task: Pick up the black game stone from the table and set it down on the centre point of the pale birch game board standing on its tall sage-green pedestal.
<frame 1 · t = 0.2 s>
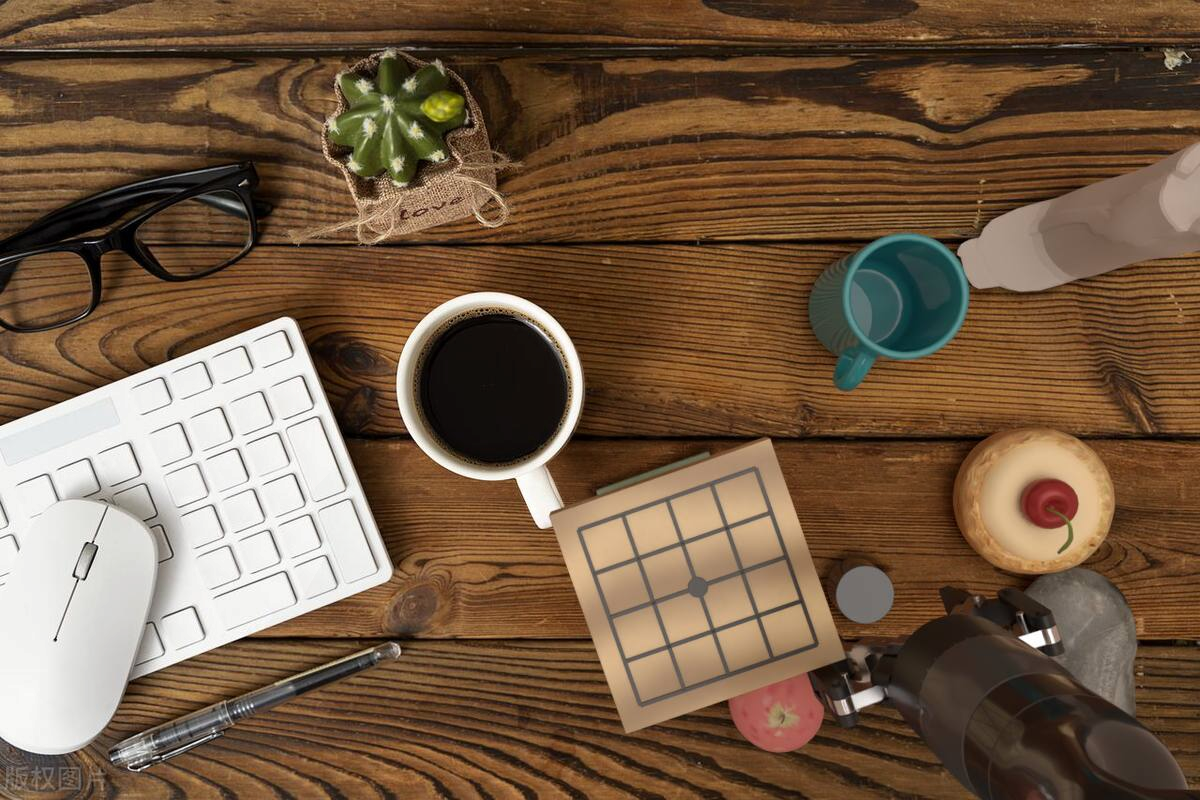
hand: (889, 620, 59), 13 cm above the table, tool pointing down, fingers open, 8 cm apart
beige tapered piece: (1039, 246, 72), on the table
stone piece: (854, 585, 73), on the table
board: (671, 525, 73), on the table
apple: (766, 683, 73), on the table
stone: (1060, 649, 73), on the table
pastry: (1010, 494, 73), on the table
cup: (851, 324, 72), on the table
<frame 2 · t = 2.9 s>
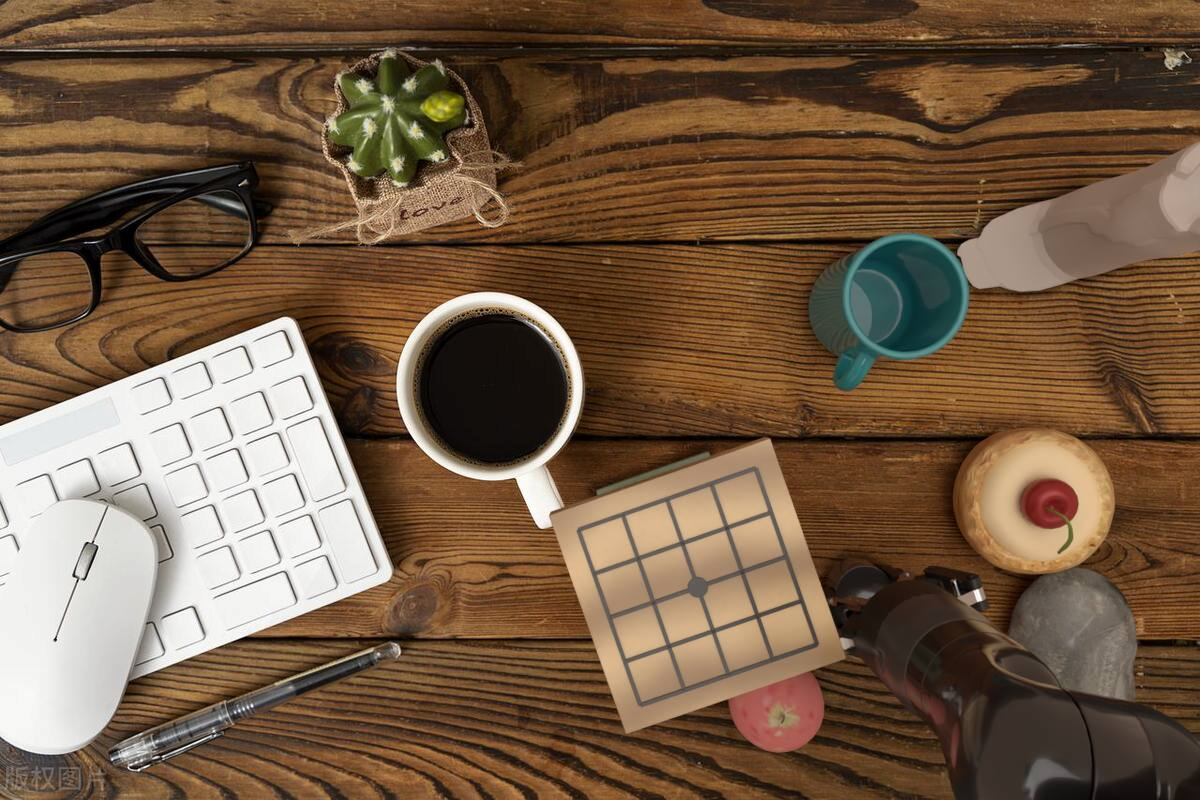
hand: (857, 588, 72), 1 cm above the table, tool pointing down, fingers closed on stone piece, 4 cm apart
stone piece: (854, 585, 73), on the table, touching gripper
everything else where it was.
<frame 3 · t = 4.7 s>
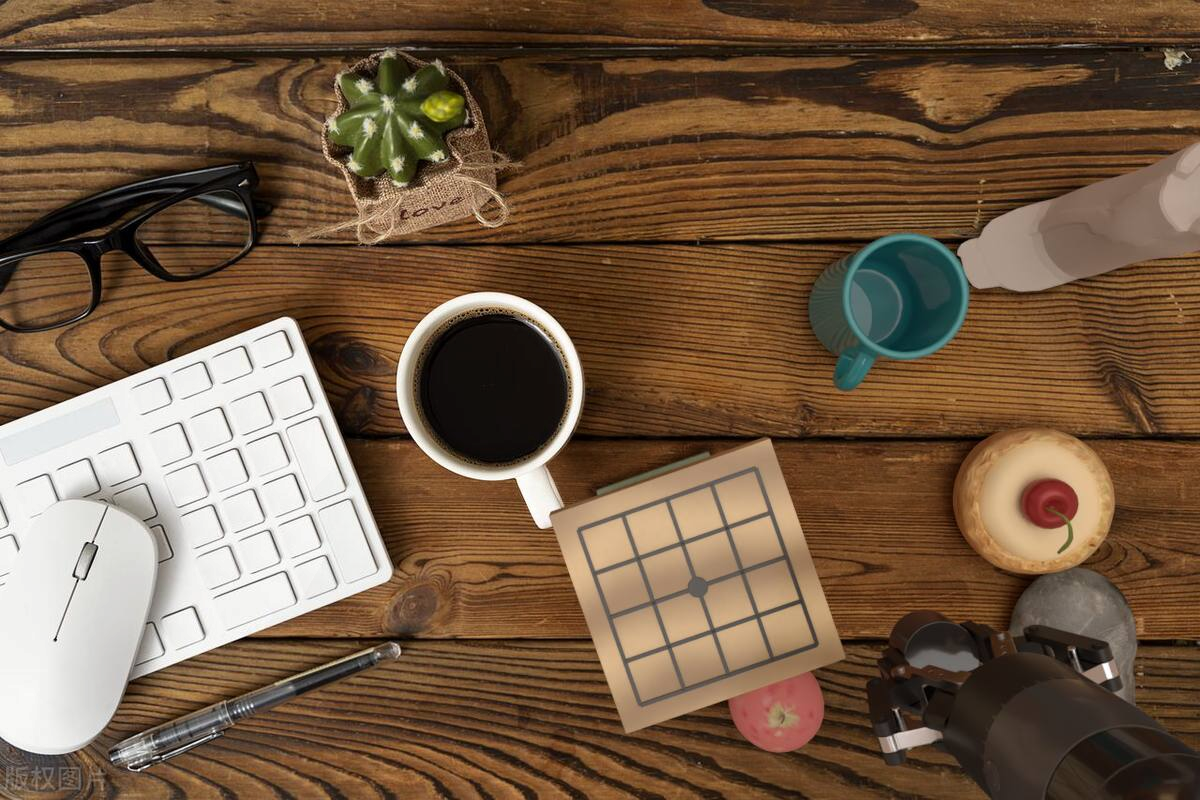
hand: (930, 649, 56), 17 cm above the table, tool pointing down, fingers closed on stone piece, 4 cm apart
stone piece: (924, 645, 57), point 16 cm above the table, touching gripper
everything else where it was.
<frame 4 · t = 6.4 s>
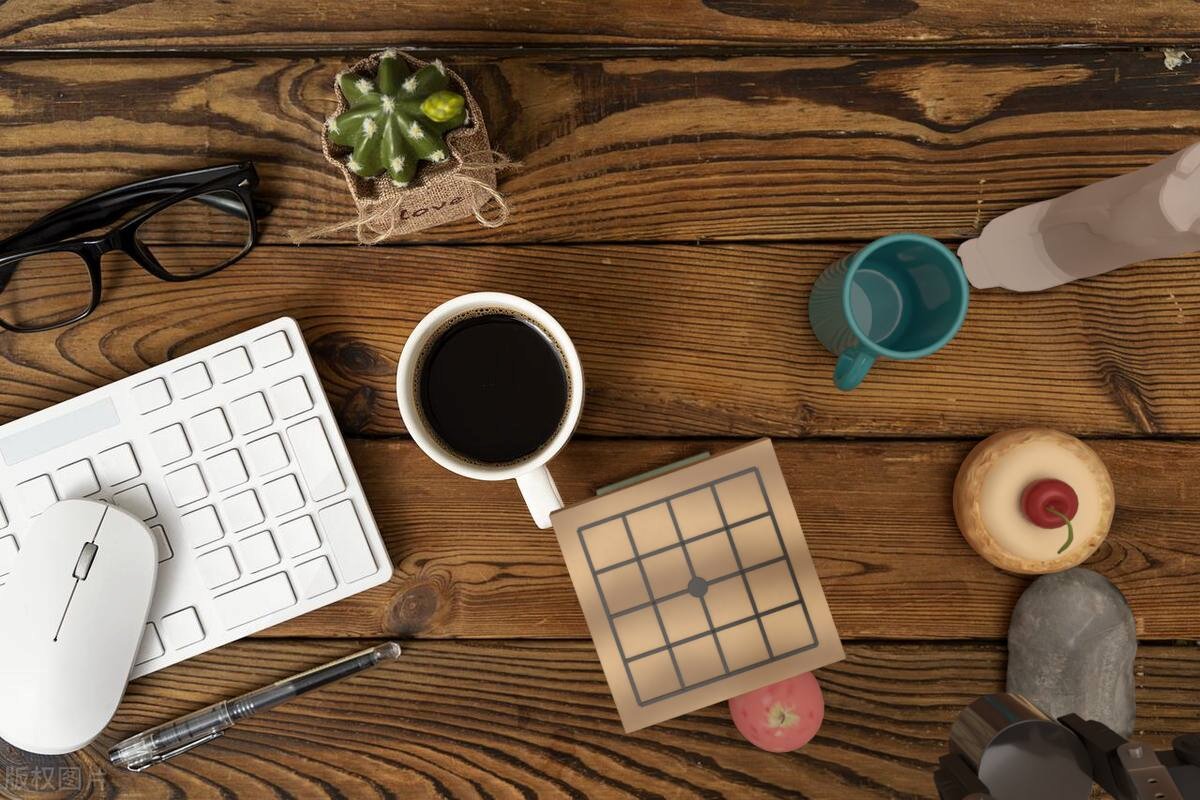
hand: (1011, 755, 37), 35 cm above the table, tool pointing down, fingers closed on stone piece, 4 cm apart
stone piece: (1001, 745, 38), point 35 cm above the table, touching gripper
everything else where it was.
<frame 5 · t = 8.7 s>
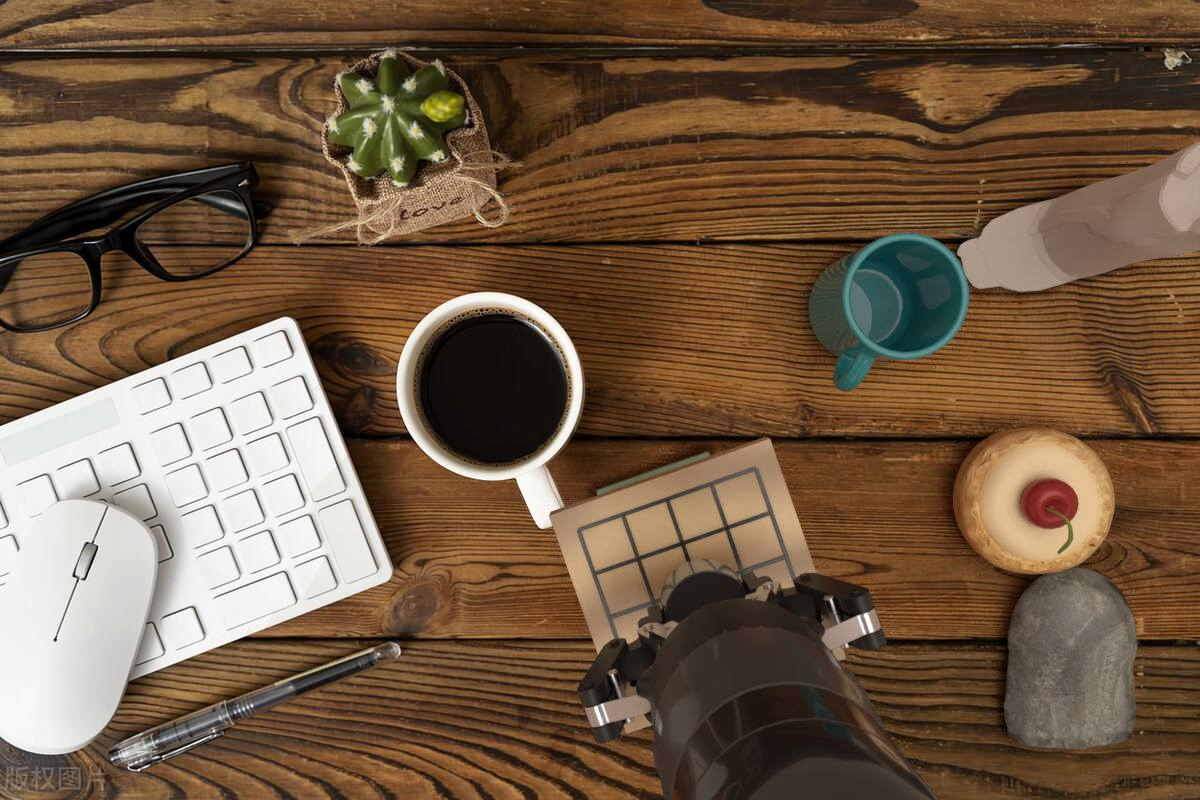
hand: (706, 606, 47), 26 cm above the table, tool pointing down, fingers closed on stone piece, 4 cm apart
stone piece: (703, 601, 48), point 25 cm above the table, touching gripper
everything else where it was.
when the fingers open (23 cm above the table, at t = 10.1 s): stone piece stays where it is, resting on board.
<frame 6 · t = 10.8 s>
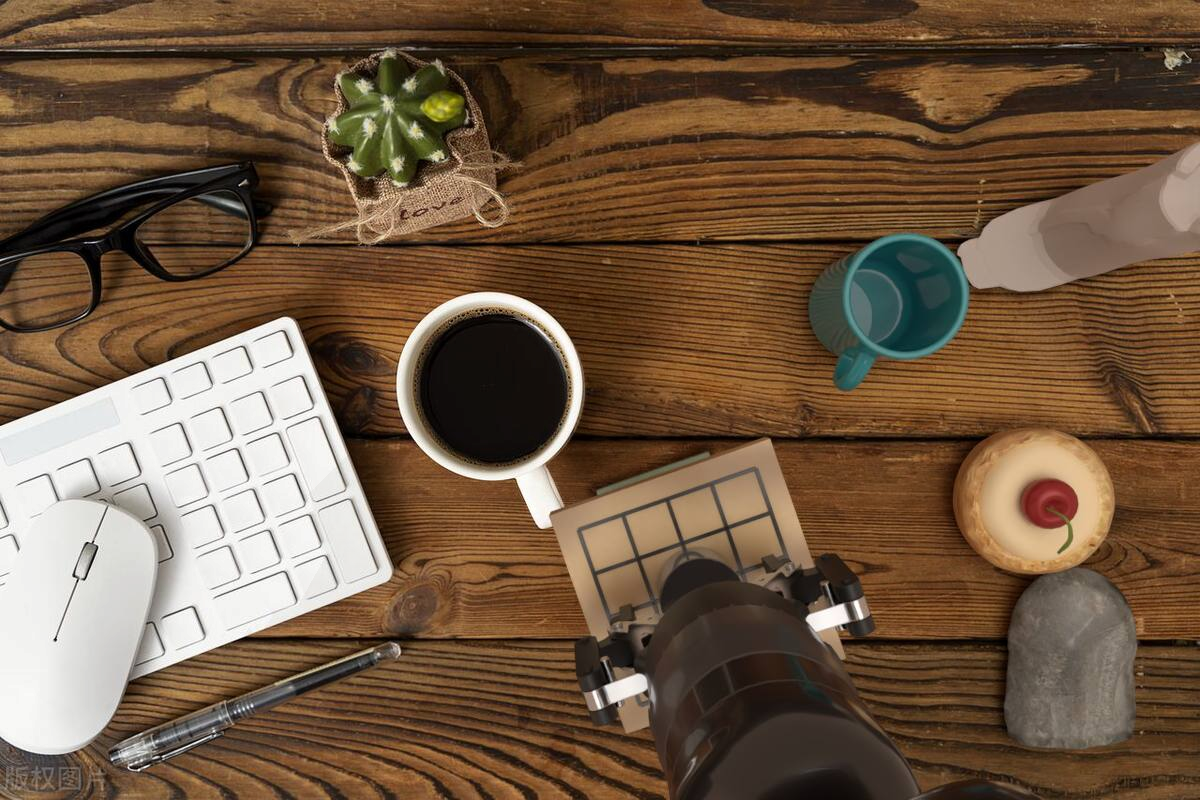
hand: (701, 596, 49), 24 cm above the table, tool pointing down, fingers open, 8 cm apart
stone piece: (697, 587, 51), point 22 cm above the table, touching board
everything else where it was.
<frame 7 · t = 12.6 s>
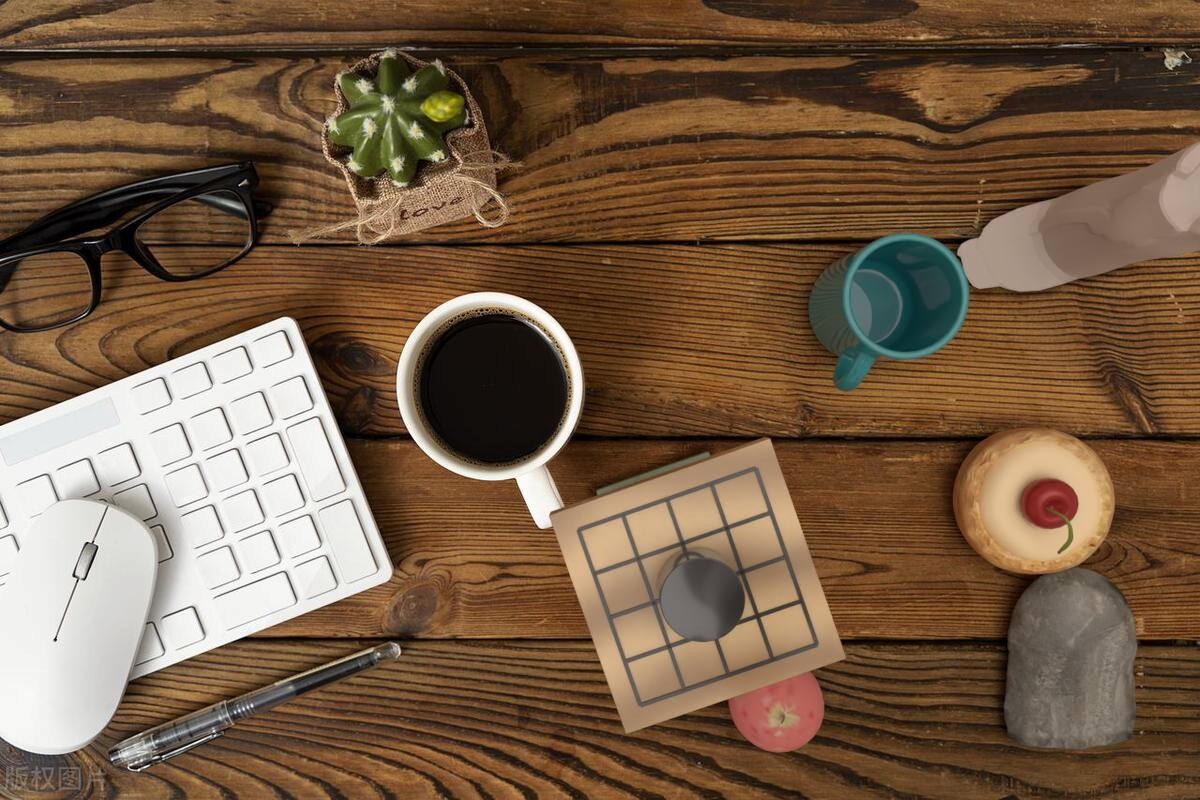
nothing on the table moved.
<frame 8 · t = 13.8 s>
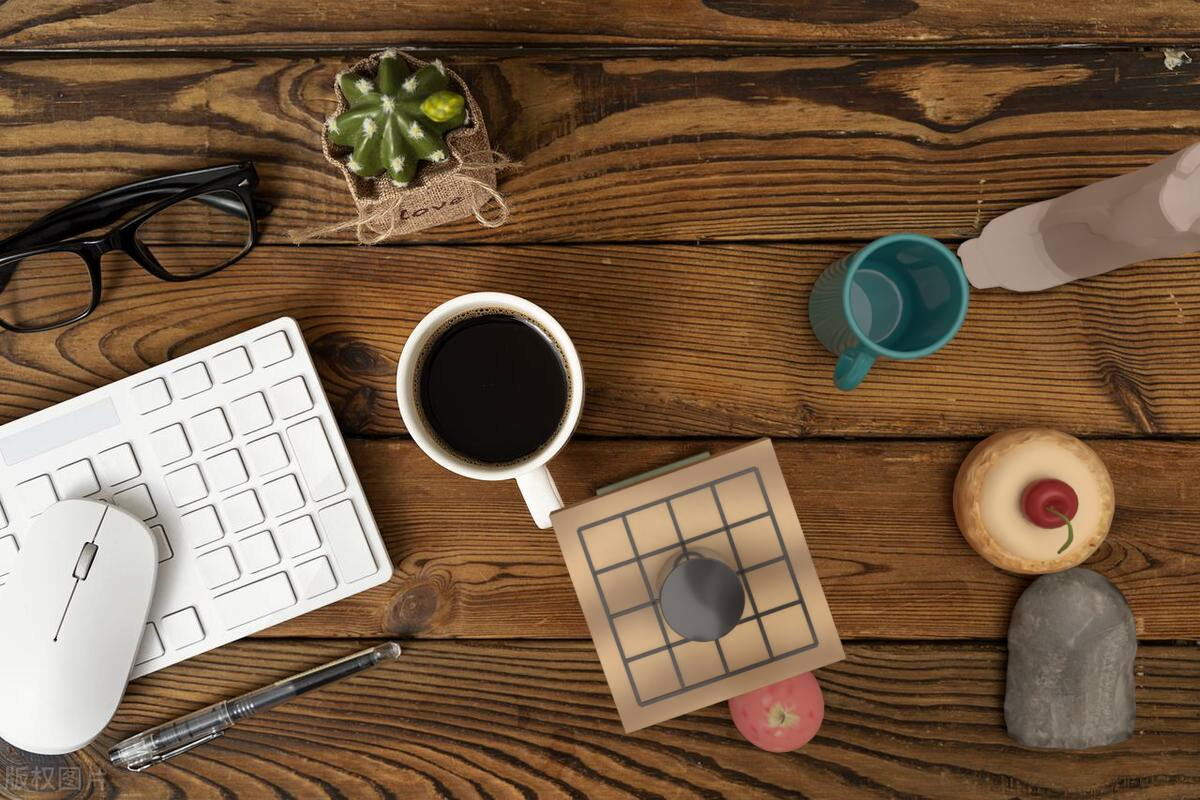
nothing on the table moved.
at the end: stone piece 0.1 cm off-centre on the board, point 21.6 cm above the board's base; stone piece tilted 0°; the gripper is holding nothing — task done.
